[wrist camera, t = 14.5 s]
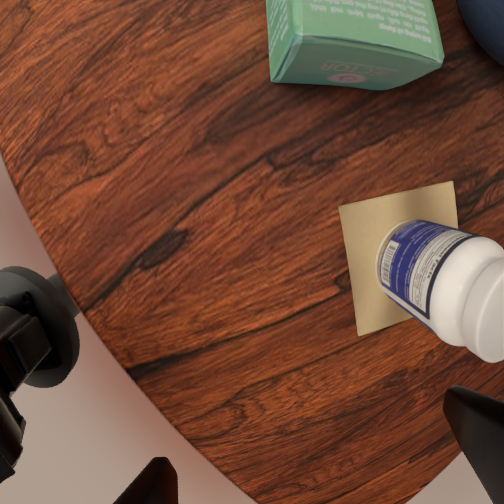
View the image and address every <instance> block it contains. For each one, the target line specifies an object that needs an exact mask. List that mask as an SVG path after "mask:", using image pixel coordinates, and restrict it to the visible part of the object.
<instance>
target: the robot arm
mask: <svg viewBox="0 0 504 504" xmlns="http://www.w3.org/2000/svg"><path fill="white" fill-rule="evenodd" d="M25 296H26V297H27V300H26V298H25ZM53 360H54V361H55V362H56V363H55V362H54V361H53ZM60 364H61V360H60V358H59V356H58V354H57V352H56V350H55V348H54V346H53V344H52V342H51V340H50V337H49V335H48V333H47V331H46V329H45V326H44V324H43V322H42V320H41V317H40V315H39V313H38V310H37V308H36V305H35V303H34V300H33V298H32V295H31V294H30V293H29V292H28V291H24V292H20V293H17V294H14V295H10V296H7V297H4V298H0V483H2V481H4V480H5V479H7V478H9V477H10V476H12V475H14V474H15V471H14V469H13V468H14V467H15V465H16V463H17V461H18V459H19V458H20V456H21V453H22V451H23V447H22V445H21V443H22V438H23V434H24V430H25V426H26V421H25V420H24V418H23V416H21V415H20V413H19V412H18V410H17V409H16V407H15V405H14V403H13V402H12V400H11V397H12V395H13V394H14V393H15V392H16V390H17V389H18V388H19V387H20V385H21V384H22V383H23V382H24V381H25V380H26V378H27V377H28V376H29V375H30V374H31V372H32V371H38V370H46V369H54V368H58V367H59V366H60ZM443 411H444V414H445V416H446V418H447V420H448V422H449V425H450V427H451V429H452V431H453V433H454V435H455V437H456V440H457V442H458V444H459V446H460V448H461V449H462V451H463V452H464V454H465V456H466V458H467V459H468V461H469V463H470V464H471V466H472V468H473V469H474V471H475V473H476V474H477V476H478V478H479V479H480V481H481V483H482V485H483V486H484V488H485V490H486V491H487V493H488V495H489V497H490V499H491V500H492V502H493V504H504V401H501V400H498V399H495V398H492V397H490V396H487V395H484V394H481V393H479V392H476V391H473V390H471V389H468V388H465V387H463V386H460V385H455V386H452V387H450V388H448V389H447V390H446V392H445V398H444V403H443ZM177 480H178V479H177V473H176V471H175V469H174V467H173V466H172V464H171V463H170V461H169V460H168V458H167V457H155V458H153V459H152V460H151V461H150V462H149V463H148V465H147V466H146V467H145V468H144V469H143V470H142V471H141V473H140V474H139V475H138V476H137V477H136V478H135V480H134V481H133V482H132V483H131V484H130V485H129V486H128V487H127V488H126V490H125V491H124V492H123V493H122V494H121V495H120V496H119V497H118V498H117V500H116V501H115V502H114V503H113V504H178V481H177Z"/></svg>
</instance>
